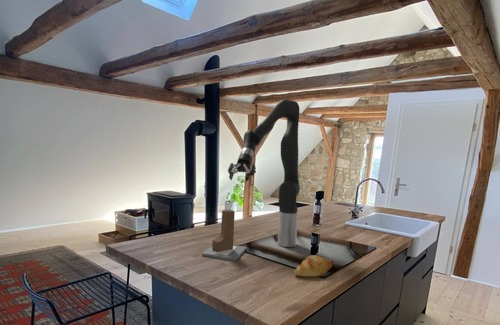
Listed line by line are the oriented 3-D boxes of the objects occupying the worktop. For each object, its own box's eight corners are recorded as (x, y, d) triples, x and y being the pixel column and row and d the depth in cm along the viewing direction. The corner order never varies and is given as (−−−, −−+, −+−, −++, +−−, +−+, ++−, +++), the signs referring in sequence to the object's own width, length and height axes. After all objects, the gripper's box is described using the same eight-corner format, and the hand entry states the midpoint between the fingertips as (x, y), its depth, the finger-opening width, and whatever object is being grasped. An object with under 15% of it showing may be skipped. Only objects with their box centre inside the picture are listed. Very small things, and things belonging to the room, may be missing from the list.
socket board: (246, 249, 139) (246, 246, 139) (235, 261, 124) (235, 257, 123) (216, 245, 143) (216, 242, 143) (201, 255, 128) (202, 252, 128)
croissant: (298, 289, 108) (306, 274, 105) (284, 268, 115) (290, 254, 112) (336, 276, 120) (344, 263, 117) (320, 258, 127) (327, 245, 124)
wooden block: (216, 252, 129) (218, 212, 129) (211, 249, 133) (213, 210, 132) (233, 248, 135) (235, 211, 134) (228, 246, 138) (229, 209, 138)
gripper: (232, 152, 159) (224, 173, 149) (257, 153, 155) (250, 175, 145) (235, 161, 164) (227, 183, 154) (259, 162, 161) (252, 185, 150)
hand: (238, 179), depth 149 cm, fingers open, 8 cm apart
